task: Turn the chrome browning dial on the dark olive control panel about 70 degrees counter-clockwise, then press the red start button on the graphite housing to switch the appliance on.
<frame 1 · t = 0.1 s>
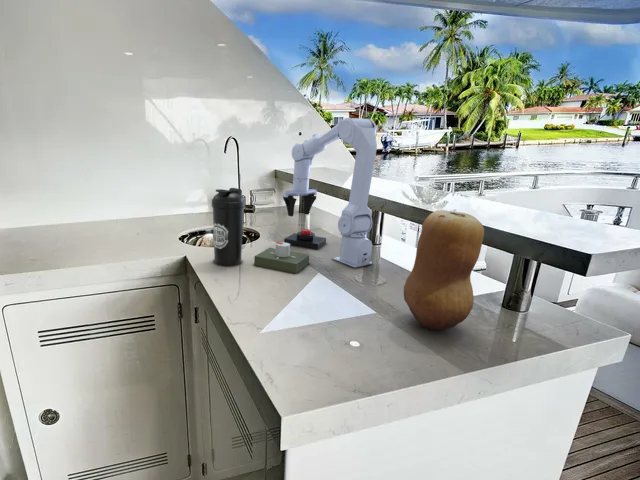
hand: (298, 215, 143), 10 cm above the worktop, tool pointing down, fingers open, 7 cm apart
butternut squash: (430, 325, 84), on the worktop
start button: (305, 232, 141), point 4 cm above the worktop, slide at 0.1 cm
dial panel: (281, 264, 120), on the worktop
button housing: (305, 243, 143), on the worktop
browning dial: (282, 249, 118), point 5 cm above the worktop, hinge at 0.0°
water bottle: (227, 262, 121), on the worktop
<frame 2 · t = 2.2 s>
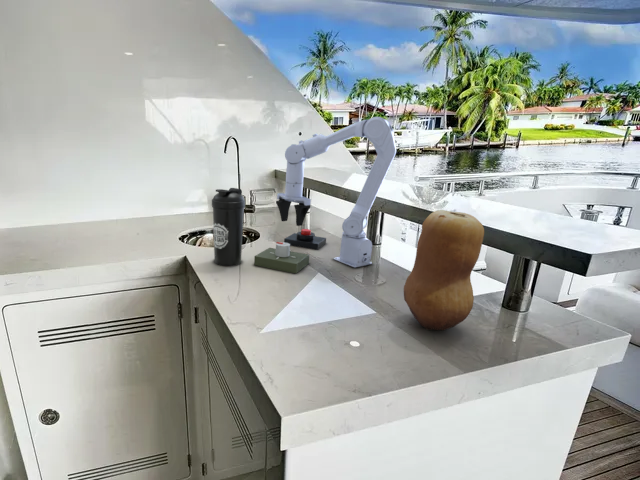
hand: (291, 223, 129), 10 cm above the worktop, tool pointing down, fingers open, 7 cm apart
nothing on the worktop moved.
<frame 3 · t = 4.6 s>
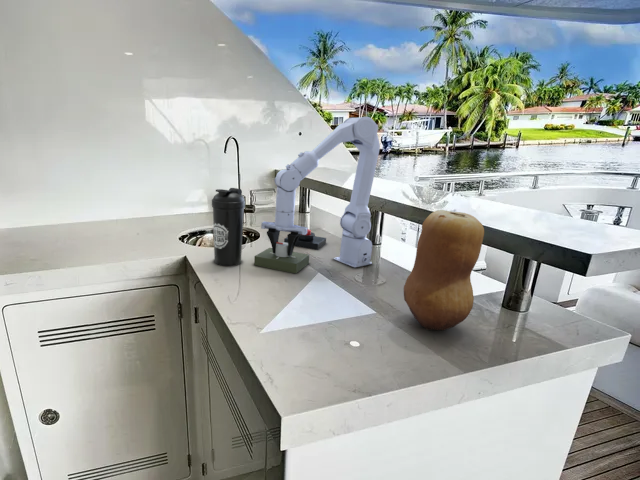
hand: (282, 253, 119), 4 cm above the worktop, tool pointing down, fingers closed on browning dial, 4 cm apart
browning dial: (282, 249, 118), point 5 cm above the worktop, hinge at 0.1°, touching gripper
everything else where it was.
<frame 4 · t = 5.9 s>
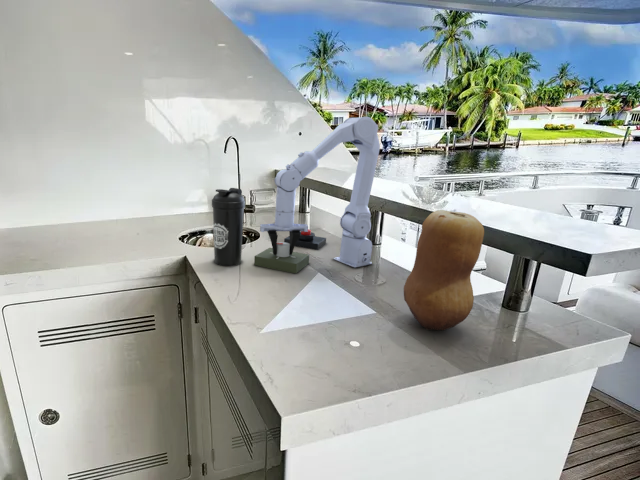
hand: (282, 253, 119), 4 cm above the worktop, tool pointing down, fingers closed on browning dial, 4 cm apart
browning dial: (282, 249, 118), point 5 cm above the worktop, hinge at 34.5°, touching gripper
everything else where it was.
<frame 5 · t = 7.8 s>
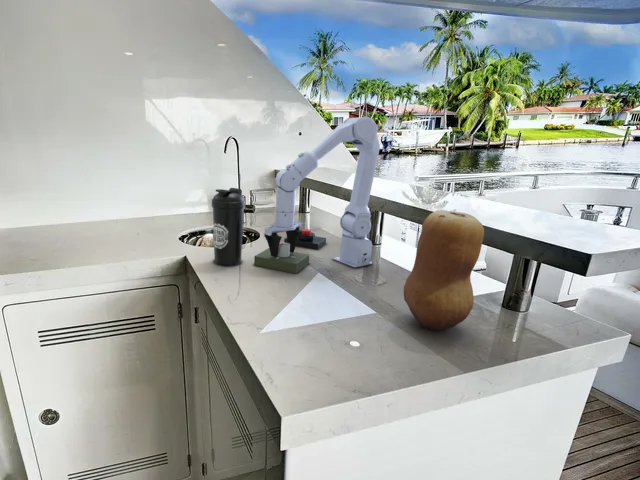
hand: (282, 254, 119), 3 cm above the worktop, tool pointing down, fingers open, 7 cm apart
browning dial: (282, 249, 118), point 5 cm above the worktop, hinge at 69.2°
everything else where it was.
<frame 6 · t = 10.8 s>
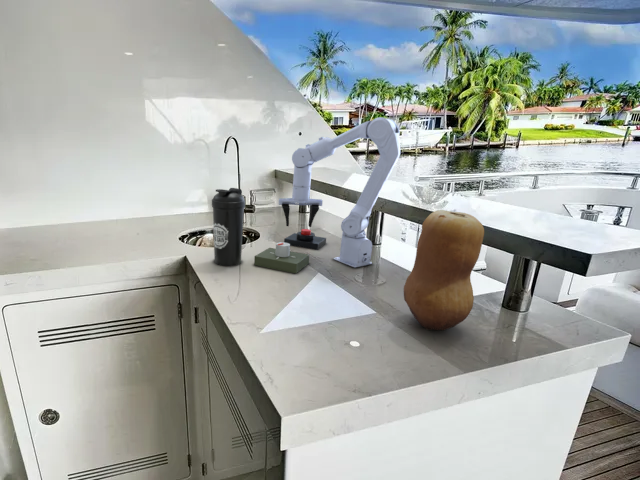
hand: (298, 226, 131), 9 cm above the worktop, tool pointing down, fingers open, 7 cm apart
nothing on the worktop moved.
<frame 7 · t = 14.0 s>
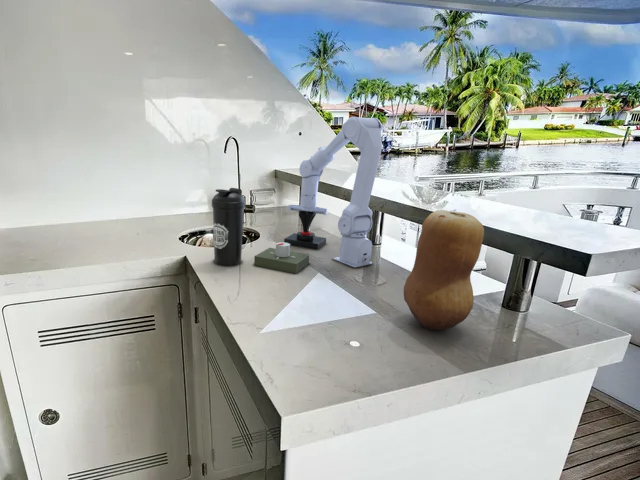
hand: (306, 231, 141), 5 cm above the worktop, tool pointing down, fingers closed, pressing on start button
start button: (305, 233, 141), point 4 cm above the worktop, slide at -0.5 cm, touching gripper
everything else where it was.
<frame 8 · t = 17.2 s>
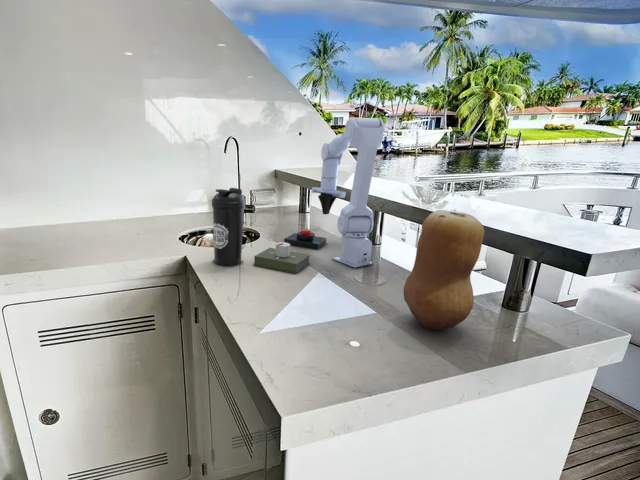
hand: (325, 213, 145), 10 cm above the worktop, tool pointing down, fingers closed
start button: (305, 232, 141), point 4 cm above the worktop, slide at 0.1 cm
everything else where it was.
at the end: browning dial at +69° (first picture: +0°); start button pushed in 1.2 cm at the most during the clip, back to where it started at the end; start button slide at 0.1 cm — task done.
